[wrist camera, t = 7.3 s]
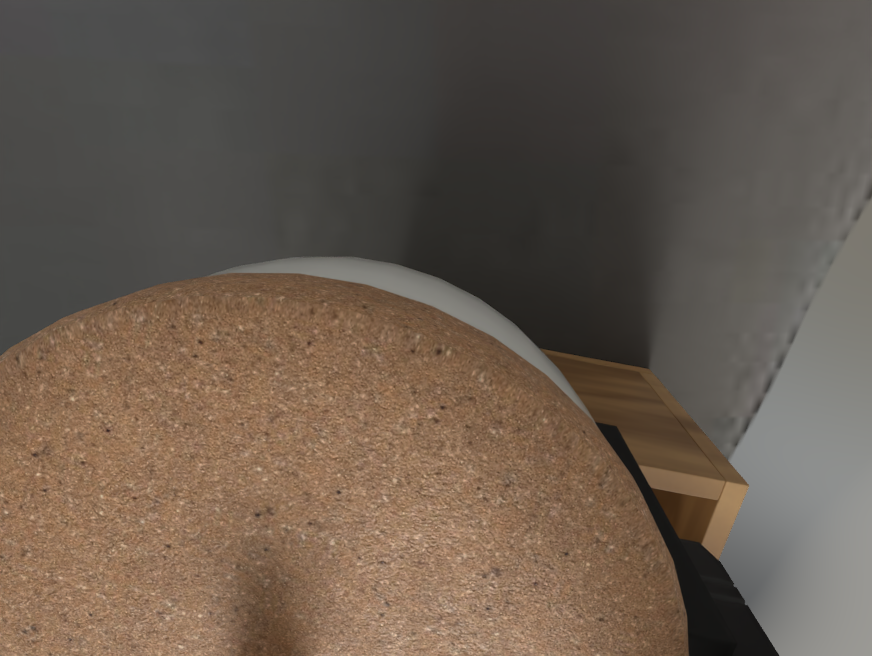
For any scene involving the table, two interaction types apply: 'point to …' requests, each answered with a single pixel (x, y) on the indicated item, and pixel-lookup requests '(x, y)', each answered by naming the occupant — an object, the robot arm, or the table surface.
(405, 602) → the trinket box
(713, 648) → the robot arm
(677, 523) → the chest
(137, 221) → the table surface
